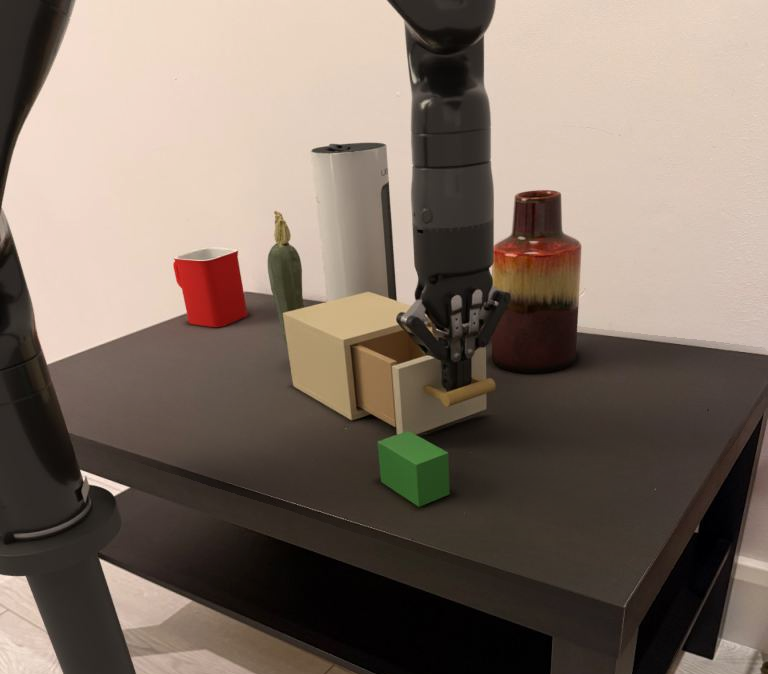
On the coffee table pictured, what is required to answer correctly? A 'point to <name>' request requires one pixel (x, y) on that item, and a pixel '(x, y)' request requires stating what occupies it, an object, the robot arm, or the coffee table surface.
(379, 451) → the green rectangular prism
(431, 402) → the drawer
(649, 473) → the coffee table surface
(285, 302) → the vegetable
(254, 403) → the coffee table surface
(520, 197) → the vase
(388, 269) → the speaker
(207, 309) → the mug
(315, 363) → the cabinet
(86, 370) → the coffee table surface
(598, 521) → the coffee table surface
